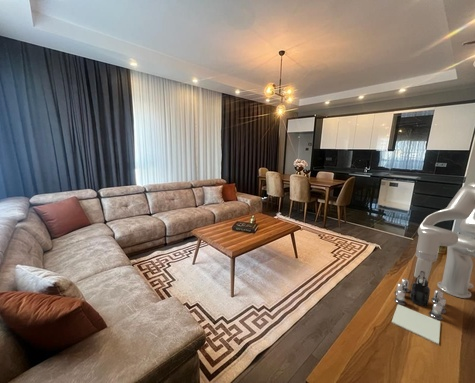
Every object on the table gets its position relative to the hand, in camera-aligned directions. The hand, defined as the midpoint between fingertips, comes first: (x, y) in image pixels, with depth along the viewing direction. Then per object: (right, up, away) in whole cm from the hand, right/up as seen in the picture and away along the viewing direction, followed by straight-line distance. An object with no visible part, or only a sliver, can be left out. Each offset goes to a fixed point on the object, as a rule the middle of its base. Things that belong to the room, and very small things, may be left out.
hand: (420, 287), depth 100 cm
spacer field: (+1, -8, +2) cm, 9 cm away
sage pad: (-11, -11, -10) cm, 19 cm away
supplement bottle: (+1, -9, +2) cm, 9 cm away
